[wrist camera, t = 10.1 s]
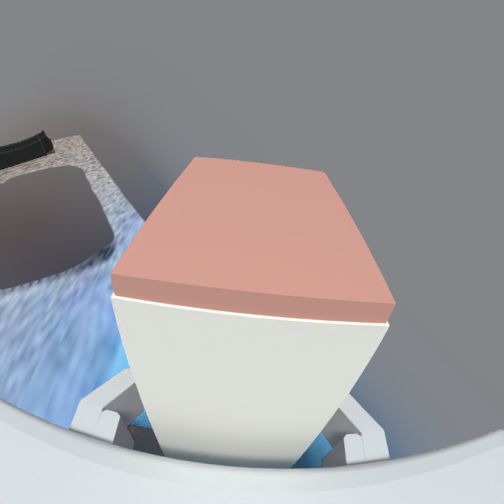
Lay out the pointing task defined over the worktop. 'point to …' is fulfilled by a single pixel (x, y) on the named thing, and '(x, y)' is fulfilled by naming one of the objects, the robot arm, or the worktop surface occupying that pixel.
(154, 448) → the bookend
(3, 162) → the magazine
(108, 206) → the worktop surface
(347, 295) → the boxed book
